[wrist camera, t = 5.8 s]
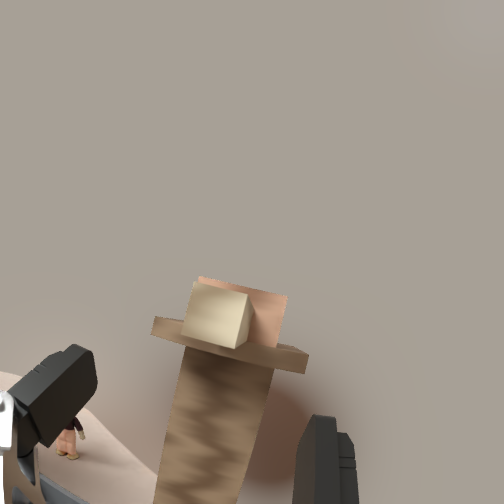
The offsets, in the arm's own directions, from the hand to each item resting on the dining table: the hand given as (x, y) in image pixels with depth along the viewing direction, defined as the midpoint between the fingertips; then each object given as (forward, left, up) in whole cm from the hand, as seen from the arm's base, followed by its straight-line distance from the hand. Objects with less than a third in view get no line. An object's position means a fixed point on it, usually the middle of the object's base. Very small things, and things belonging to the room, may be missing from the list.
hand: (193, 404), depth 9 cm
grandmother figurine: (-27, +32, -30) cm, 52 cm away
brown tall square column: (-1, +18, -30) cm, 35 cm away
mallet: (-1, +12, +2) cm, 12 cm away
